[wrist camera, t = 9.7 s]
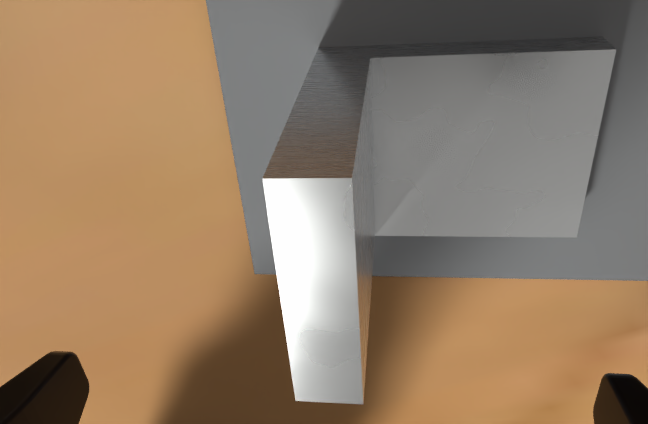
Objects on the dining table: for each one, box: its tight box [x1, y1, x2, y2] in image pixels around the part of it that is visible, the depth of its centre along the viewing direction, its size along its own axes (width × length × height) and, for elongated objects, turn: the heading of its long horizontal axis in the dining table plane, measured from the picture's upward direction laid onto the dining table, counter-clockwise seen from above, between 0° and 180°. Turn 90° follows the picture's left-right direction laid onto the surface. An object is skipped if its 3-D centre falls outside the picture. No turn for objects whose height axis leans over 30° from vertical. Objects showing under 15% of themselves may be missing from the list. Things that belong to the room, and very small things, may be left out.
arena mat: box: [206, 0, 648, 281], centre depth 18 cm, size 12×15×1 cm
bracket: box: [262, 37, 616, 404], centre depth 14 cm, size 8×6×8 cm
